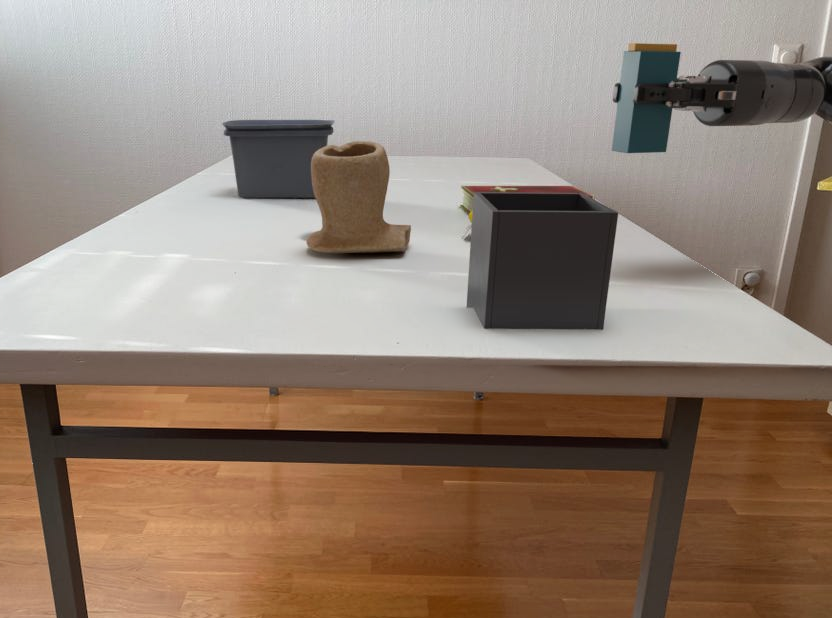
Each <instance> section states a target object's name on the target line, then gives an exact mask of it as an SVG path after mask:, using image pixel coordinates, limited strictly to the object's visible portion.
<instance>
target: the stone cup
mask: <svg viewBox="0 0 832 618" xmlns="http://www.w3.org/2000/svg"><path fill="white" fill-rule="evenodd" d="M390 170H391V169H390V164H389V158H388V155H387V151H386V149H385V147H384V146H383V145H381V144H380V143H378V142H375V141H369V140H368V141H367V140H365V141H364V140H354V141H353V140H352V141H349V142H347V143H345V144H342V145H336V144H335V145H334V144H327V146H325V147H323V148H321V149H319V150H317V151H316V152H315V153H314V155H313V157H312V160H311V176H312V186H313V191H314V195H315V200H316V204H317V206H318V208H319V211H320V212H319V213H320V215H321V225H322V226H321V229H320V230H317V231H315V232H313V233H311V234H309V236H307V238H306V243H305V244H306V245H307V247H308V248H309V249H311V250H312V251H315V252H319V253H326V254H365V253H366V254H367V253H368V254H369V253H372V254H373V253H392V252H393V253H394V252H395V253H396V252H405V251H406V250H407V247H408V246H409V244H410V241H411V231H412V225H410V224H393V223H392V224H391V223H388V222H386V221H385V220H384V208H385V203H386V197H387V193H388V187H389V181H390V175H391V174H390V173H391V171H390Z"/></svg>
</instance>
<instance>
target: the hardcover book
mask: <svg viewBox="0 0 832 618" xmlns="http://www.w3.org/2000/svg"><path fill="white" fill-rule="evenodd" d="M460 188H461V189H462V190H463V191H462V192H463V193H462V204H459V208H460V209H461V210H463V211H464V212H465V213H466V215H468V216H469V213H470V211H472V210H473V199H474V192H519V193H583V194H585V195H587V196H589V197H591V198H593V199H594V200H596V196H595V195H594V194H592V193H591V192H588V191H585V190H583V189H581V188H579V187H576V186H574V185H461V186H460Z"/></svg>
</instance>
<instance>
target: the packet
mask: <svg viewBox="0 0 832 618" xmlns="http://www.w3.org/2000/svg"><path fill="white" fill-rule="evenodd" d="M677 49H678V44H677V43H647V42H645V43H643V42H642V43H641V42H632V43H631V42H630V43H628V47H627V50H624V51H623V55H622V64H621V70H620V78H619V83H620V87H619V95H618V103H616V110H615V111H616V112H615V113H616V114H615V119H614V128H613V134H612V135H613V137H612V144H611V146H612V147H611V152H617V153H624V154H646V153H647V154H651V153H653V154H654V153H666V152H667V148H668V142H669V135H670V128H671V122H672V114H673V109H674V108H673V106H671V107H666V106H667V105H663V104H664V101H663V104H634V103H633V95H634V88H635V86H636V84H666V83H670V81H672V82H675V83H676V81H677V78H678V74H679V67H680V60H681V53H682V52H681V51H677Z"/></svg>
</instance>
